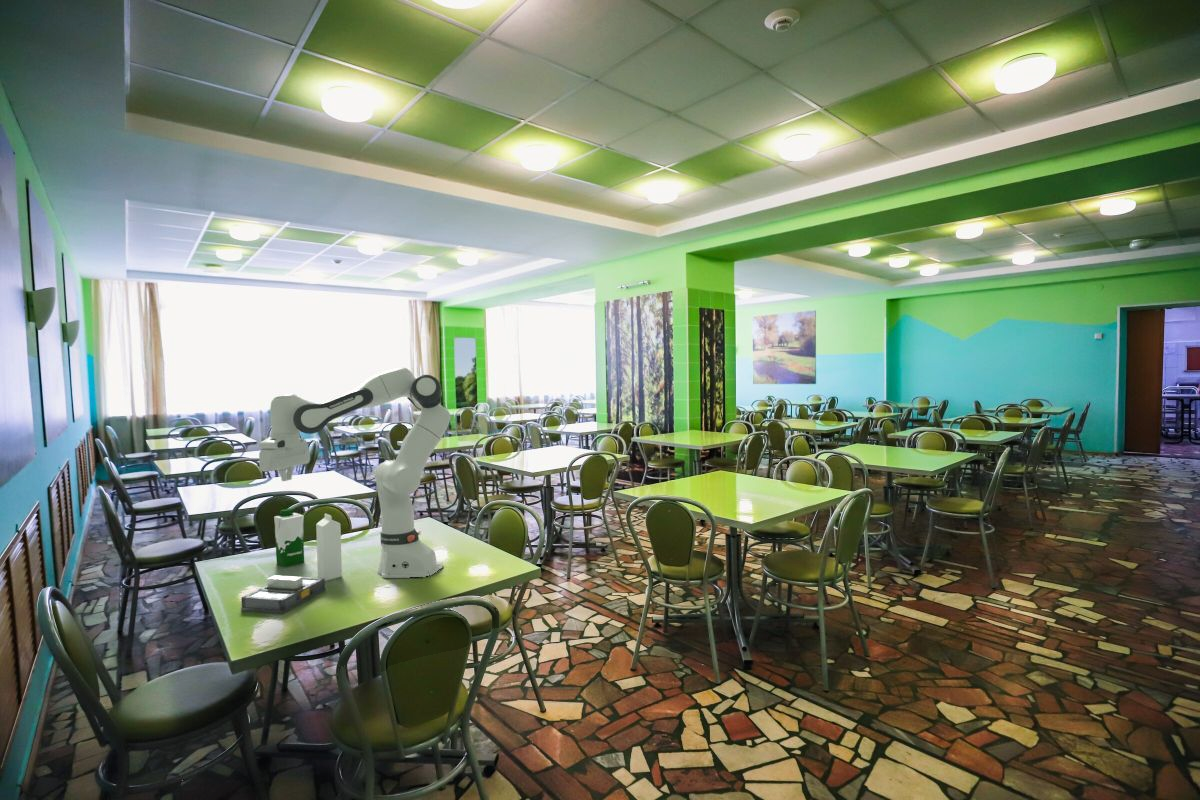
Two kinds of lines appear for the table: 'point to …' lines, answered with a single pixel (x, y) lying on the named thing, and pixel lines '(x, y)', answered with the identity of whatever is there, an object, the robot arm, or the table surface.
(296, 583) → the white rectangular block
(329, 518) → the milk
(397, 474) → the robot arm
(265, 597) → the tray
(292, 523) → the milk carton
